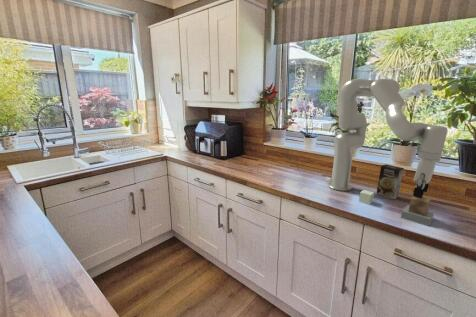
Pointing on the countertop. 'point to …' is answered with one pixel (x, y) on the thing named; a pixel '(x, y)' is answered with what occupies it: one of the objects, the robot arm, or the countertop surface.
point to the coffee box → (389, 181)
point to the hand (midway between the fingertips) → (419, 194)
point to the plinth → (417, 216)
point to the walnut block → (419, 205)
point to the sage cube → (366, 197)
